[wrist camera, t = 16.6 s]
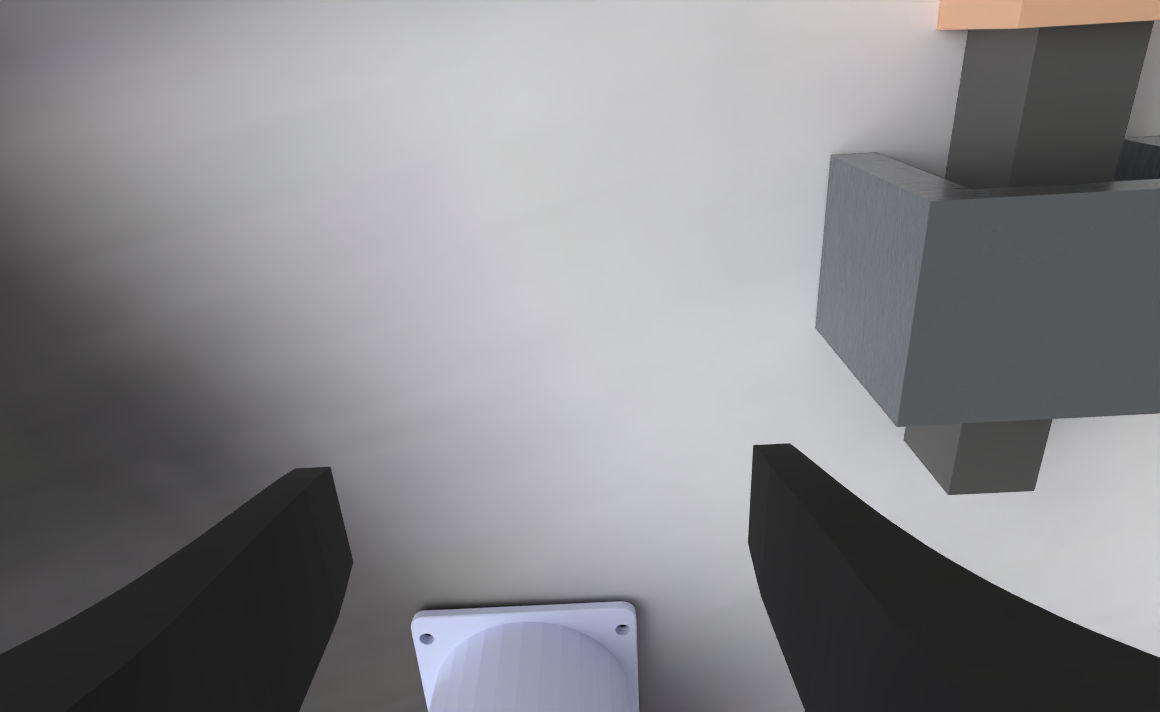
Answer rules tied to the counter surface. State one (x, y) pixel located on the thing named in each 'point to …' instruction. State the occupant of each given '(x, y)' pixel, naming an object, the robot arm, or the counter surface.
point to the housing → (994, 291)
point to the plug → (1031, 162)
